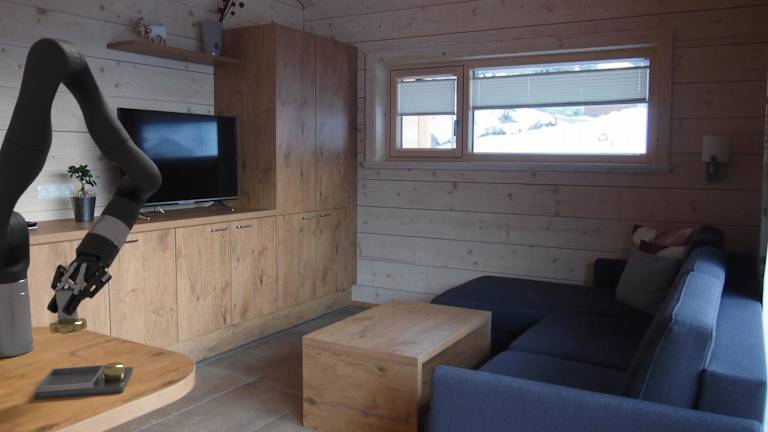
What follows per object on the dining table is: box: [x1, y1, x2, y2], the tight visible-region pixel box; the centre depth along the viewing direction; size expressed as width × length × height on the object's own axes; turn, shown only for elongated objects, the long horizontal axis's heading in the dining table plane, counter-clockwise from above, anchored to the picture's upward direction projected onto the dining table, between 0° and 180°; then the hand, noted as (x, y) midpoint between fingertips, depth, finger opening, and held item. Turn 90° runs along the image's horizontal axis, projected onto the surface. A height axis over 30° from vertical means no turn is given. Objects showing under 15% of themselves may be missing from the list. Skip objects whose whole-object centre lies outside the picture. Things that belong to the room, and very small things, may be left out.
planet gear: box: [48, 287, 88, 335], centre depth 130 cm, size 7×7×8 cm
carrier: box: [34, 361, 134, 400], centre depth 132 cm, size 16×11×4 cm
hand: (58, 312), depth 128 cm, fingers closed on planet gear, 3 cm apart
